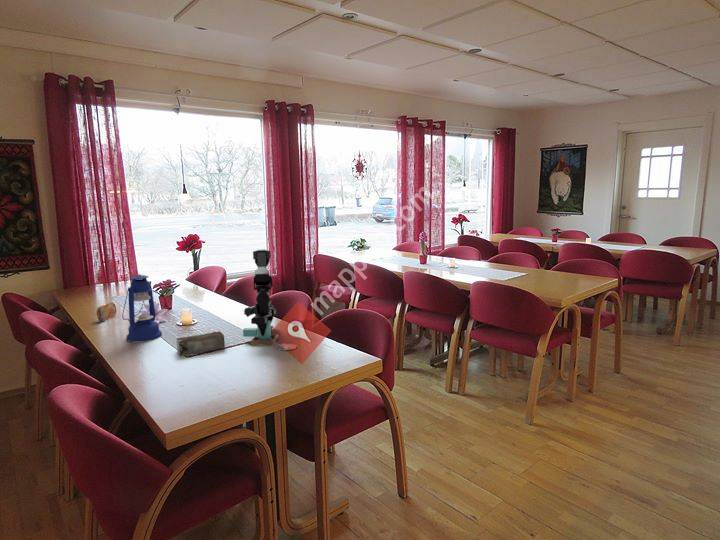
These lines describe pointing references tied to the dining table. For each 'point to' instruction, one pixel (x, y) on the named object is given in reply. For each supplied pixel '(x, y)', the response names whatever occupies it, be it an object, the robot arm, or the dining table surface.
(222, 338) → the grey brown rectangular block
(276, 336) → the holder
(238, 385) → the dining table surface
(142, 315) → the lantern
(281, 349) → the coaster
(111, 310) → the tin
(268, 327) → the jug
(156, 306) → the water lily
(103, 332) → the dining table surface
